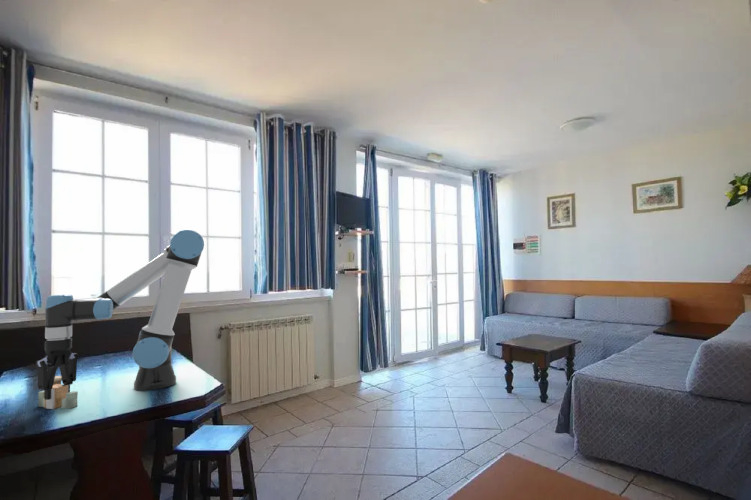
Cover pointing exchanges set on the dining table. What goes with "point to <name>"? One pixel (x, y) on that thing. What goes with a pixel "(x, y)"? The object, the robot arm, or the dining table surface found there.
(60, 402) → the tan tall block
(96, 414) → the dining table surface
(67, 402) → the pair of stepped blocks
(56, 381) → the bobbin
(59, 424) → the dining table surface
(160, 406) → the dining table surface
